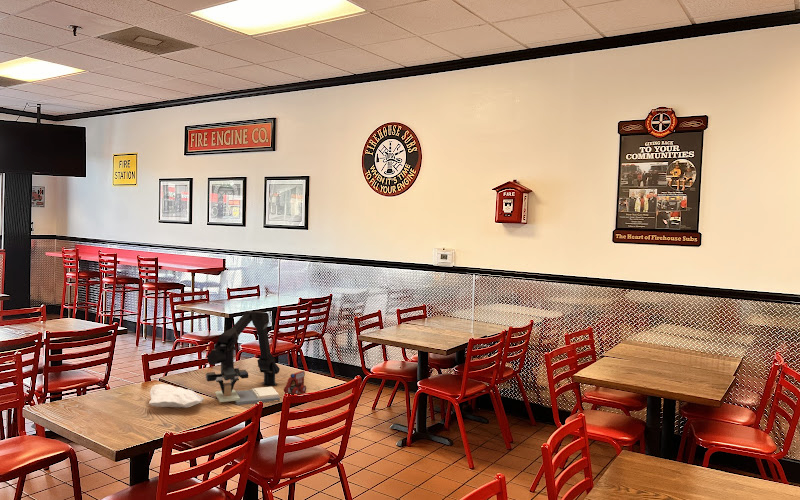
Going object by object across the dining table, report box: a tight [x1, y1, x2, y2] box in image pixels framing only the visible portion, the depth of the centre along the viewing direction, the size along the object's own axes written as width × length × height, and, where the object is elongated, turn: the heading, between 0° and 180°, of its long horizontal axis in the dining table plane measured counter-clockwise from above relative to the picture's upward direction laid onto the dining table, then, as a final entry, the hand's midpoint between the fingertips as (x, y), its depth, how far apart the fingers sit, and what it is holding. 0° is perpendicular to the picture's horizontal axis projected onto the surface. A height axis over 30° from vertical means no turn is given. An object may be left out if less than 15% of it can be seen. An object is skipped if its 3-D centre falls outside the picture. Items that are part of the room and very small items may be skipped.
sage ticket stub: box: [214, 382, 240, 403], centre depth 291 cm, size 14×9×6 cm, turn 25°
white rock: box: [148, 383, 205, 408], centre depth 280 cm, size 24×35×9 cm
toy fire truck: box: [283, 370, 307, 395], centre depth 306 cm, size 7×12×10 cm, turn 148°
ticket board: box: [233, 386, 281, 406], centre depth 297 cm, size 18×20×3 cm
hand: (226, 393), depth 291 cm, fingers closed on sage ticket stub, 3 cm apart
